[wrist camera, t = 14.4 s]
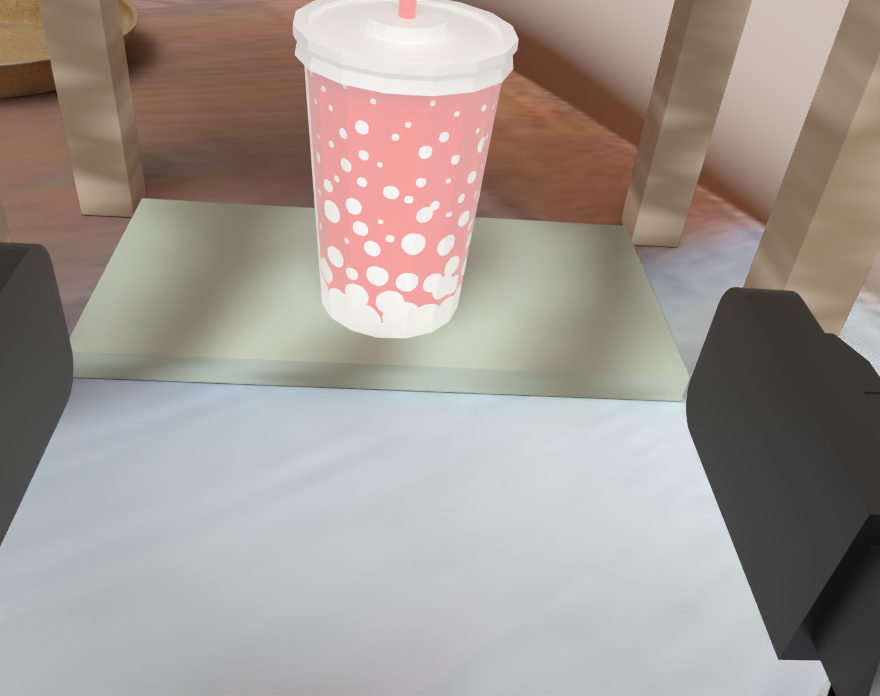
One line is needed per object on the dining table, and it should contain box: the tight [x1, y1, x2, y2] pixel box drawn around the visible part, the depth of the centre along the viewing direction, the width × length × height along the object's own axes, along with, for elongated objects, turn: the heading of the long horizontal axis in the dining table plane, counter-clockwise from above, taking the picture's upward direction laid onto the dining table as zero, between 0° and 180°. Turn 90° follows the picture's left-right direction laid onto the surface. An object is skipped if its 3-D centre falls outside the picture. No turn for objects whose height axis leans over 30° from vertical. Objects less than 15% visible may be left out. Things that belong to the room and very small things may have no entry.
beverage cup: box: [293, 0, 518, 338], centre depth 24 cm, size 6×6×14 cm
